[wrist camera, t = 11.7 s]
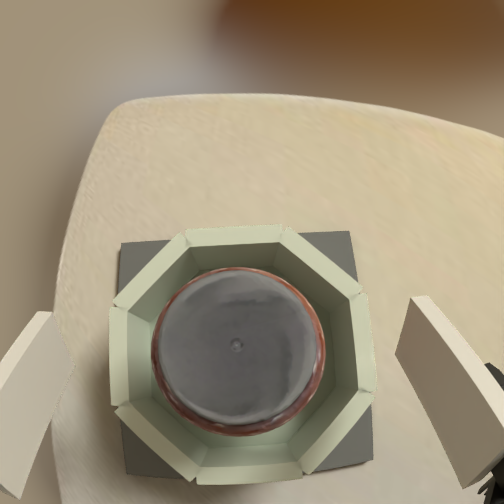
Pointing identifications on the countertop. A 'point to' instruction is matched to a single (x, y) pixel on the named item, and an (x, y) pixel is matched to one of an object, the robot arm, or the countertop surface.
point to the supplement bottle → (238, 351)
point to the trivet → (345, 453)
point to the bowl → (280, 439)
